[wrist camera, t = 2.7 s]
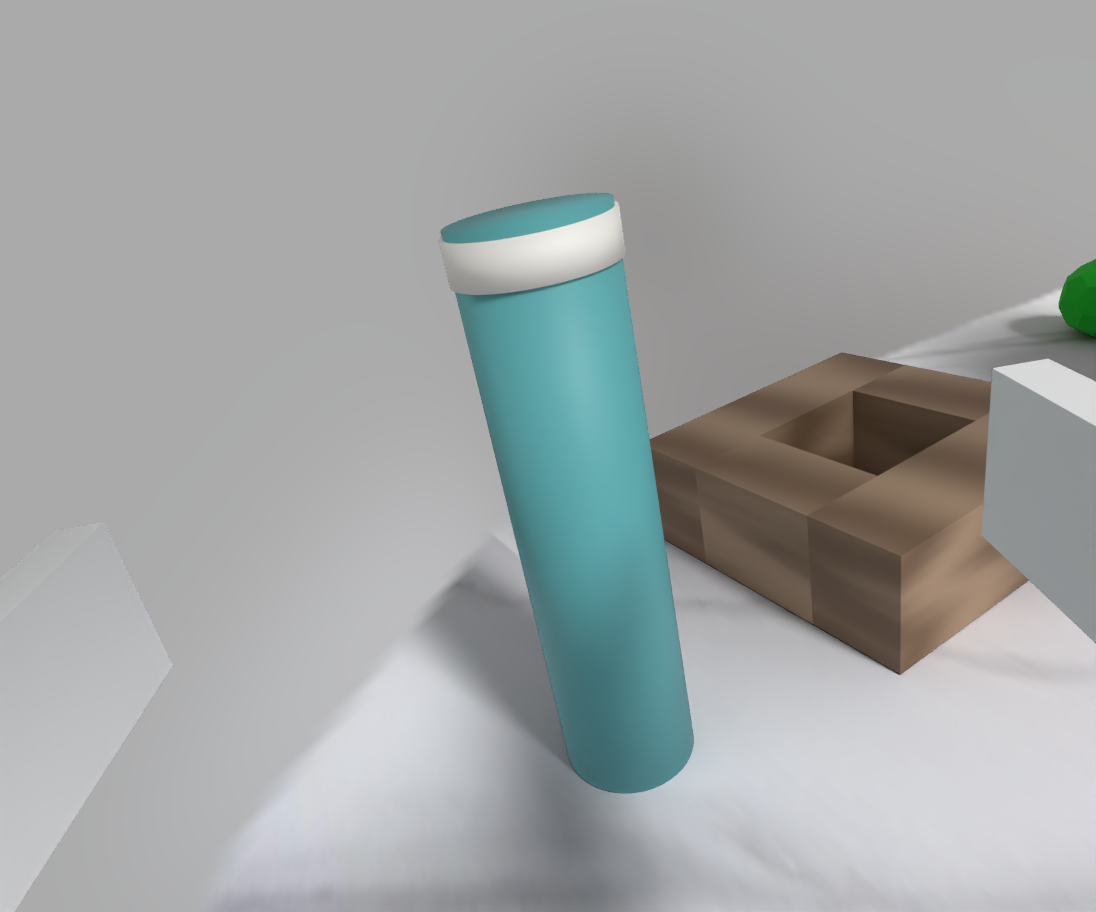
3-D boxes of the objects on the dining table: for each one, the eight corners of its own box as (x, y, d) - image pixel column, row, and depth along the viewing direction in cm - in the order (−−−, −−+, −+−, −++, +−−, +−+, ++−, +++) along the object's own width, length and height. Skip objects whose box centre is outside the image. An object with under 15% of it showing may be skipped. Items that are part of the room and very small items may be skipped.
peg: (641, 675, 29) (555, 192, 22) (725, 744, 26) (655, 191, 18) (541, 736, 28) (409, 232, 20) (614, 821, 24) (487, 239, 16)
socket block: (843, 434, 44) (841, 352, 42) (1114, 517, 33) (1129, 409, 31) (653, 532, 38) (639, 444, 36) (900, 674, 27) (901, 556, 25)
